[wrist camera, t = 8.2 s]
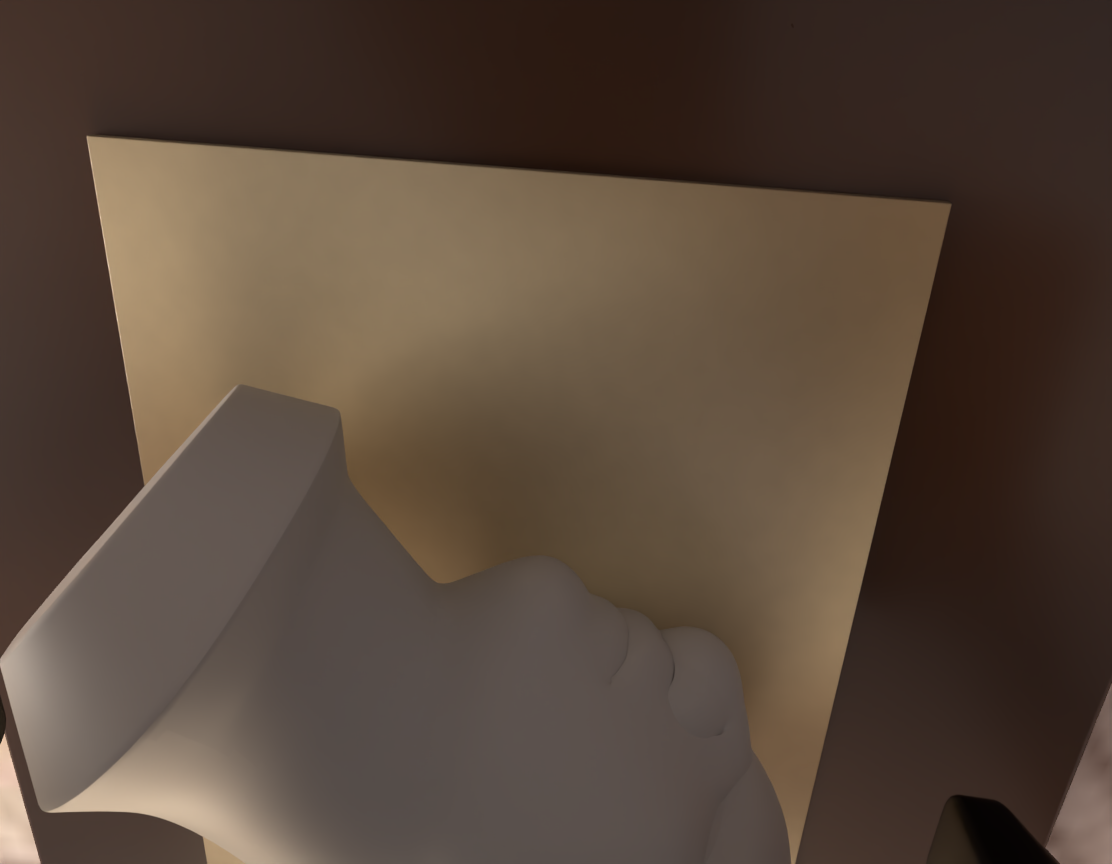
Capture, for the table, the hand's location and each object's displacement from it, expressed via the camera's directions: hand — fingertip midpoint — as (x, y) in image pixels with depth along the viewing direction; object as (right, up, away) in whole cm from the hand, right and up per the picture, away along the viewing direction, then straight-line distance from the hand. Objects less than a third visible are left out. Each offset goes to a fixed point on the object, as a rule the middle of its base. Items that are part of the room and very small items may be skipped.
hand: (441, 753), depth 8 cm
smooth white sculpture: (+1, +1, +2) cm, 2 cm away
